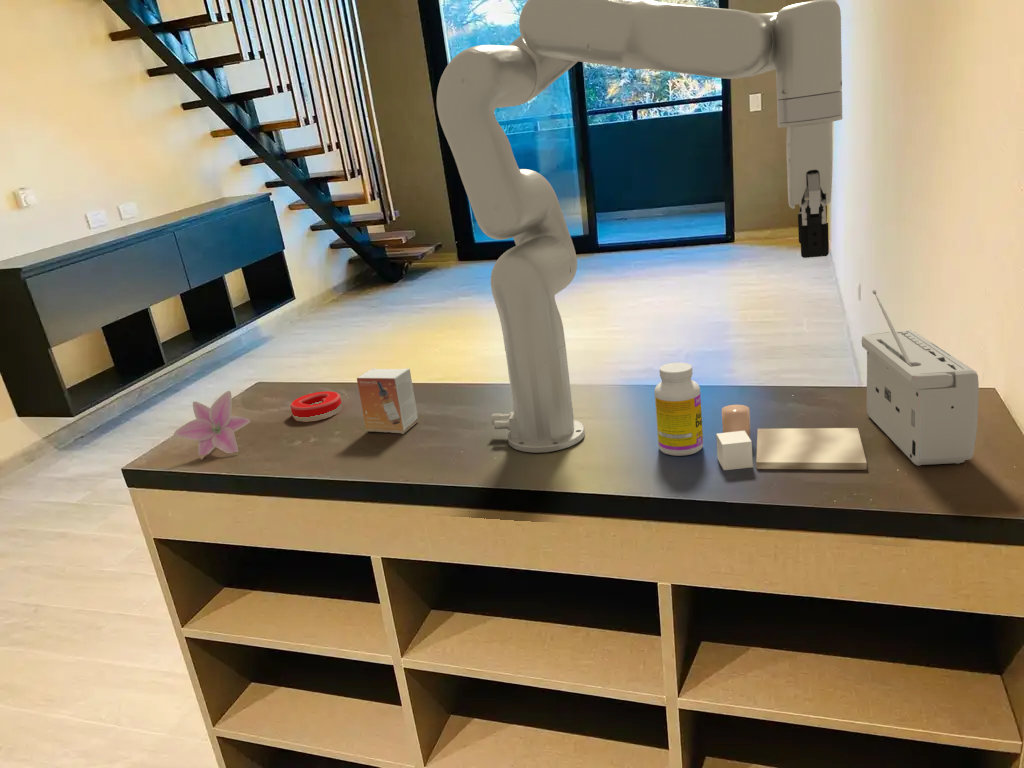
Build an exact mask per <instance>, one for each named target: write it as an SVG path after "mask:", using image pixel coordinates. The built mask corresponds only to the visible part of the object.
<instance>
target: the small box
mask: <svg viewBox="0 0 1024 768" xmlns="http://www.w3.org/2000/svg"><path fill="white" fill-rule="evenodd" d="M411 374H412V373H411V369H410V368H371V369H369V370H367V371H366V372H365V373H362V374H361V375H359V376H358V377H357V378H356V382H357V387H358V393H359V400H360V404H361V411H362V415H363V421H364V427H365V430H366V429H380V430H381V429H382V430H399V431H401V430H402V431H404V430H405V429H406V428H407V427H408V426H410V425H411V424H412V423H413V422H414V421H415V420H416V419H417V418H418V419H419V417H418V412H417V403H416V399H415V393H414V392H415V391H414V386H413V385H414V384H413V382H412V375H411Z"/></svg>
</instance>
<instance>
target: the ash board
mask: <svg viewBox="0 0 1024 768" xmlns="http://www.w3.org/2000/svg"><path fill="white" fill-rule="evenodd" d="M756 437H757V438H756V439H757V440H756V460H755V461H756V469H757V470H839V471H840V470H842V471H843V470H846V471H847V470H849V471H851V470H854V471H855V470H857V471H861V470H862V471H865V470H868V468H867V467H868V466H867V458H866V455H865V451H864V447H863V443H862V439H861V436H860V432H859V428H858V427H818V428H817V427H815V428H811V427H810V428H809V427H808V428H807V427H806V428H799V427H798V428H794V427H793V428H787V427H785V428H784V427H783V428H757V435H756Z"/></svg>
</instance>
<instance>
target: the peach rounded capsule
mask: <svg viewBox="0 0 1024 768" xmlns="http://www.w3.org/2000/svg"><path fill="white" fill-rule="evenodd" d="M750 413H751V411H750V407H749V406H747V405H744V404H729V405H726V406H723V407H722V408H721V421H722V423H721V424H722V425H721V426H722V433H726V432H736V431H745V432H746V434H747V435H748V437H749V438H750V440H751V441H752V439H751V416H750V415H751V414H750Z"/></svg>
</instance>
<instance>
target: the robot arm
mask: <svg viewBox="0 0 1024 768" xmlns="http://www.w3.org/2000/svg"><path fill="white" fill-rule="evenodd" d="M841 11H842V10H841V8H840V5H839V3H838V2H837V1H836V0H809V1H802V2H798V3H794V4H790V5H787V6H784V7H783V8H781V9H779V10H778V11H777V12H768V13H767V12H765V13H763V12H762V13H756V12H755V13H754V12H750V11H747V10H740V9H732V8H723V7H722V8H720V7H709V6H698V5H687V4H678V3H667V2H659V1H654V0H527V1H526V2H525V3H524V5H523V7H522V9H521V12H520V15H519V21H518V23H519V24H518V25H519V26H518V27H519V33H520V35H519V36H518V37H517V38H515V39H514V41H512V42H511V43H510V44H509V45H497V44H481V45H476V46H470V47H468V48H465V49H463V50H462V51H460V52H459V53H458V54H456V55H455V56H454V57H453V58H452V59H451V60H450V61H449V63H448V64H447V65H446V67H445V69H444V71H443V73H442V74H441V76H440V79H439V83H438V86H437V92H436V111H437V115H438V119H439V123H440V126H441V128H442V131H443V134H444V137H445V138H446V140H447V143H448V146H449V147H450V150H451V153H452V156H453V158H454V162H455V165H456V167H457V170H458V174H459V176H460V180H461V182H462V185H463V187H464V190H465V193H466V195H467V198H468V201H469V203H470V206H471V209H472V212H473V213H472V214H473V216H474V218H475V221H476V222H477V225H478V227H479V228H480V230H481V231H482V233H484V234H485V235H486V236H487V237H489V238H491V239H493V240H500V241H501V240H507V239H511V238H512V239H513V241H514V244H515V246H513V247H511V248H509V249H507V250H506V251H505V252H503V254H501V255H500V256H499V257H498V259H497V260H496V262H495V263H494V265H493V267H492V270H491V274H490V287H491V289H490V290H491V294H492V297H493V300H494V304H495V306H496V307H495V308H496V310H497V312H498V316H499V317H498V318H499V321H500V326H501V327H500V328H501V331H502V337H503V344H504V351H505V357H506V365H507V370H508V371H507V372H508V378H509V379H508V380H509V386H510V387H509V388H510V394H511V402H512V409H513V411H510V412H509V413H492V414H491V416H490V417H491V418H490V419H491V421H490V422H491V424H492V425H493V429H494V430H504V429H507V430H508V431H509V432H508V434H507V443H508V445H509V446H510V447H511V448H513V449H515V450H517V451H520V452H525V453H532V454H533V453H534V454H535V453H540V454H541V453H550V452H556V451H560V450H565V449H567V448H570V447H572V446H574V445H576V444H578V443H579V442H581V440H583V438H584V437H585V434H586V432H585V426H584V424H583V423H581V421H579V420H577V419H575V417H574V408H573V401H572V399H573V398H572V391H571V384H570V383H571V382H570V373H569V364H568V363H569V362H568V355H567V353H568V352H567V346H566V340H565V337H566V336H565V332H564V331H565V330H564V325H563V324H564V323H563V320H562V317H561V313H560V311H559V308H558V306H557V302H556V299H555V298H556V297H555V296H556V295H558V293H560V292H561V291H563V290H564V289H566V288H567V287H568V286H569V285H570V284H571V283H572V282H573V280H574V278H575V275H576V273H577V269H578V258H577V254H576V249H575V245H574V243H573V239H572V237H571V233H570V231H569V228H568V225H567V222H566V220H565V217H564V213H563V210H562V208H561V205H560V201H559V199H558V196H557V194H556V192H555V190H554V188H553V185H551V183H550V182H549V181H548V180H547V178H546V177H545V176H543V175H542V174H541V173H539V172H537V171H535V170H532V169H527V168H519V165H518V163H517V160H516V158H515V156H514V152H513V149H512V146H511V143H510V141H509V138H508V136H507V135H506V133H505V131H504V129H503V128H502V127H501V125H500V123H499V122H498V120H497V118H496V115H495V110H497V109H498V108H501V109H502V108H509V107H517V106H520V105H523V104H526V103H527V102H530V101H531V100H533V99H534V98H535V97H537V96H538V95H540V94H541V93H542V92H544V91H545V90H546V88H548V87H549V86H550V85H552V84H553V83H554V82H555V81H556V80H558V79H559V78H561V76H563V75H564V74H565V73H566V72H567V71H569V70H570V69H571V68H572V67H573V66H575V65H576V64H577V63H578V62H581V63H588V64H589V63H590V64H595V65H604V66H611V67H618V68H624V69H633V70H657V71H663V72H670V73H671V72H672V73H678V74H686V75H695V76H701V77H702V76H703V77H708V78H709V77H710V78H717V79H727V80H732V79H733V80H734V79H743V78H744V79H745V78H750V77H751V78H752V77H755V76H759V75H761V74H765V73H768V72H772V71H774V70H775V84H776V85H775V86H776V87H775V88H776V112H777V129H778V128H780V129H781V128H786V146H785V147H786V155H785V156H786V174H787V175H786V176H787V178H786V179H787V180H786V181H787V201H788V207H790V208H791V209H792V210H793V209H796V205H798V206H799V209H798V210H799V213H797V226H798V229H797V230H798V243H799V244H800V255H801V258H803V259H808V258H821V257H827V256H828V255H829V253H830V251H829V250H830V249H829V248H830V245H829V244H830V243H829V223H828V222H827V208H826V206H827V205H829V204H830V203H831V199H832V187H833V186H832V184H833V122H837V121H842V120H843V77H842V75H843V73H842V71H843V70H842V68H843V67H842V65H843V63H842V60H843V59H842V56H843V55H842V16H841V15H842V14H841V13H842V12H841Z"/></svg>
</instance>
